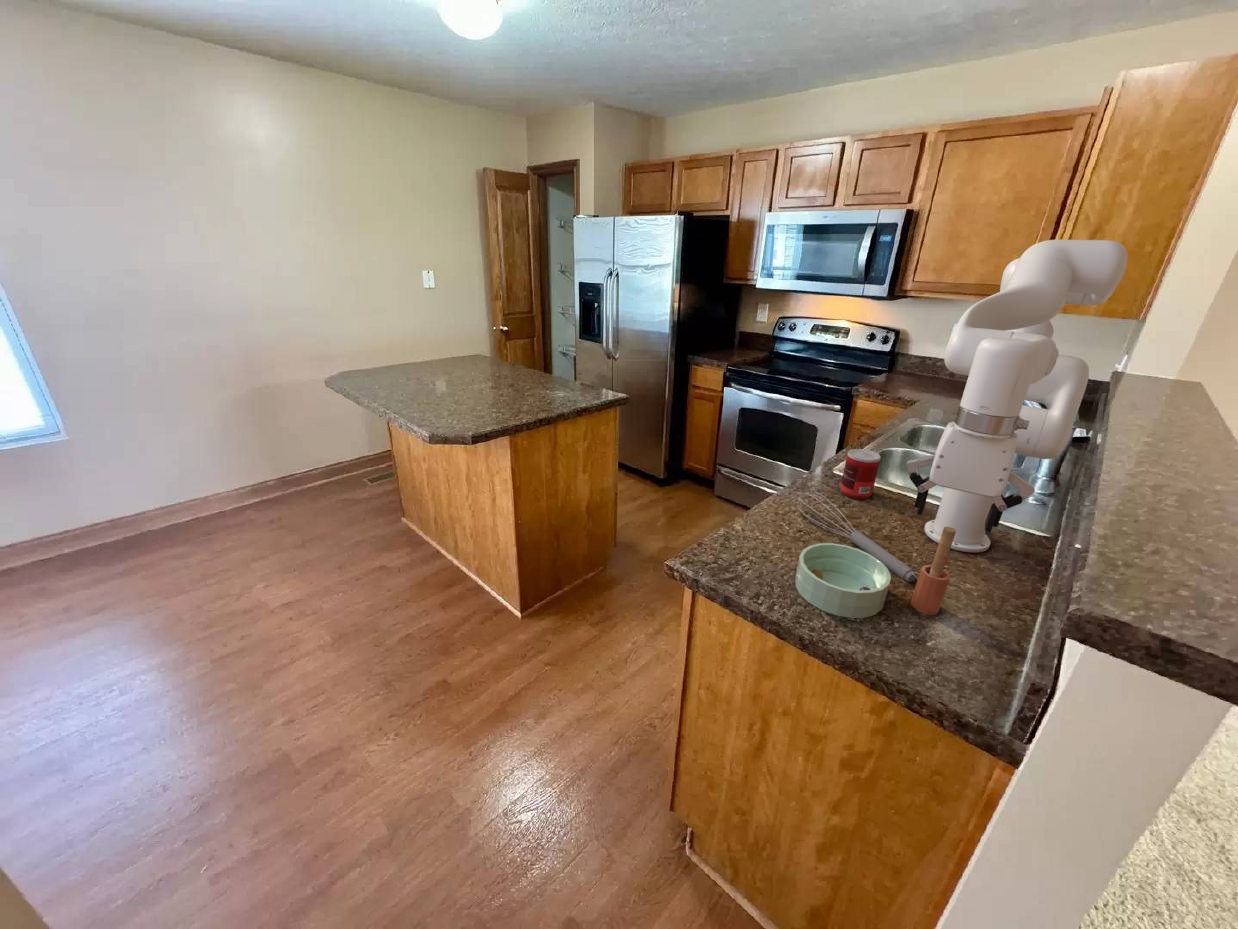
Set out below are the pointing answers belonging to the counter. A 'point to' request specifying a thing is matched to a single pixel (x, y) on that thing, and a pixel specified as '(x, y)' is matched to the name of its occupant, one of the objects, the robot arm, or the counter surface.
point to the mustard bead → (817, 573)
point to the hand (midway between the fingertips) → (952, 520)
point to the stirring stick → (942, 552)
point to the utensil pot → (930, 591)
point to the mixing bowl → (842, 580)
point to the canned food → (860, 473)
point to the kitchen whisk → (870, 547)
